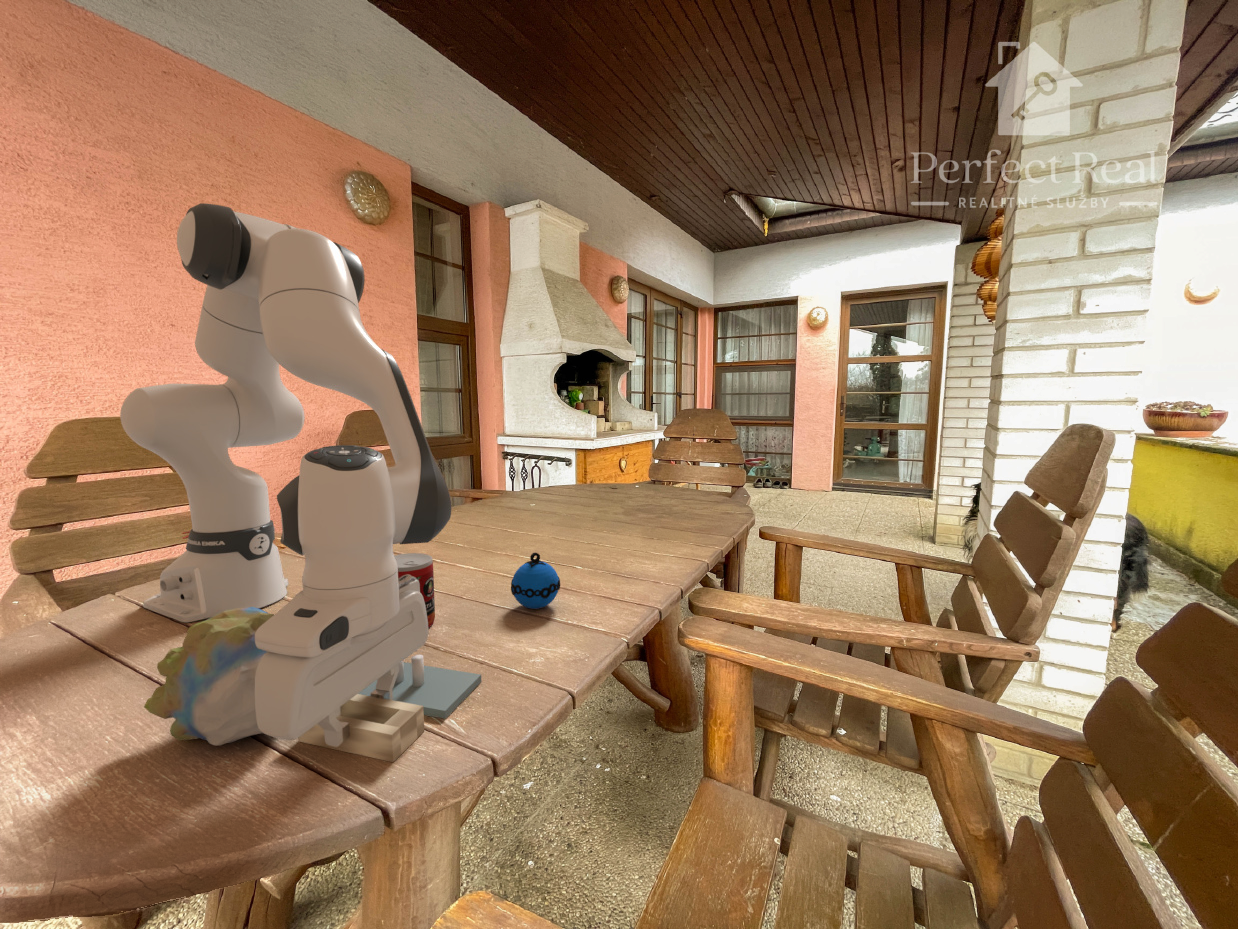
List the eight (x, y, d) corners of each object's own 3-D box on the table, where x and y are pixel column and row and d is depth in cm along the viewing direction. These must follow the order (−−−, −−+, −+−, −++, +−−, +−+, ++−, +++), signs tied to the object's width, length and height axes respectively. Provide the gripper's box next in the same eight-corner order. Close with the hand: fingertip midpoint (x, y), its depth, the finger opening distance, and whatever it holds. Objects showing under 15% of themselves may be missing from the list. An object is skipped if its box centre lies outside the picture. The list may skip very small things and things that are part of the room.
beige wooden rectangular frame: (298, 741, 54) (296, 715, 53) (335, 713, 58) (333, 689, 58) (393, 762, 51) (391, 734, 50) (424, 731, 55) (423, 706, 55)
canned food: (418, 637, 77) (415, 569, 76) (372, 632, 79) (368, 565, 78) (444, 617, 85) (442, 554, 83) (402, 613, 86) (399, 551, 85)
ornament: (522, 621, 83) (521, 563, 82) (504, 604, 90) (503, 550, 89) (568, 610, 88) (568, 555, 87) (548, 594, 95) (547, 543, 94)
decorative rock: (247, 615, 49) (309, 570, 64) (67, 678, 46) (175, 616, 61) (302, 737, 51) (350, 666, 66) (133, 804, 48) (222, 715, 63)
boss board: (331, 697, 62) (329, 663, 61) (378, 664, 69) (376, 634, 69) (445, 718, 58) (444, 682, 57) (481, 681, 65) (480, 649, 65)
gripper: (395, 567, 63) (400, 669, 65) (235, 640, 44) (249, 784, 45) (439, 571, 62) (443, 676, 64) (293, 650, 42) (305, 799, 44)
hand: (361, 722), depth 54 cm, fingers closed on beige wooden rectangular frame, 5 cm apart
